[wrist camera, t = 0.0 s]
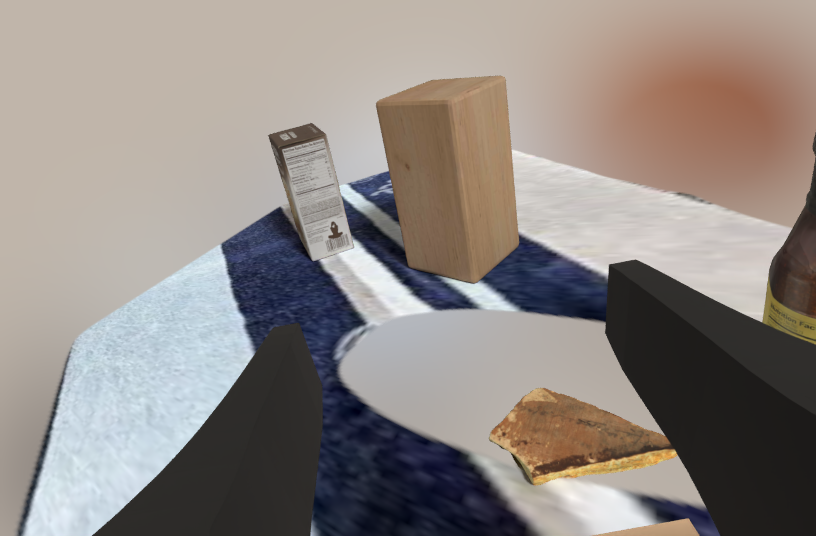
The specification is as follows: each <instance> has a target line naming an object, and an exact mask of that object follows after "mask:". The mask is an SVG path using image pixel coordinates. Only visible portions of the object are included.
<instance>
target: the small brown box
mask: <svg viewBox="0 0 816 536" xmlns="http://www.w3.org/2000/svg"><path fill="white" fill-rule="evenodd" d="M593 536H699V535H698V533H697V531H696V530H695V528H694V527H693V525H692V523H691V522H690V520H689V519H683V520H678V521H672V522H666V523H661V524H655V525H649V526H644V527H638V528H632V529H627V530H621V531H615V532H610V533H604V534H598V535H593Z"/></svg>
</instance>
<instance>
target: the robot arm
mask: <svg viewBox="0 0 816 536" xmlns="http://www.w3.org/2000/svg"><path fill="white" fill-rule="evenodd" d="M605 334H606V336H607V338H608V340H609V342H610V344H611V347H612V349H613V351H614V353H615V355H616V357H617V359H618V362H619V363H620V365H621V367H622V370H623V371H624V373H625V375H626V376H627V378H628V379H629V381H630V382H631V384H632V385H633V387H634V388H635V390H636V392H637V393H638V395H639V396H640V398H641V399H642V401H643V402H644V404H645V406H646V407H647V409H648V410H649V412H650V413H651V415H652V416H653V418H654V419H655V421H656V422H657V424H658V425H659V427H660V428H661V430H662V431H663V433H664V434H665V436H666V437H667V439H668V441H669V442H670V444H671V445H672V447H673V448H674V450H675V451H676V453H677V454H678V456H679V458H680V459H681V461H682V463H683V464H684V466H685V468H686V469H687V471H688V473H689V475H690V477H691V479H692V481H693V483H694V484H695V486H696V488H697V490H698V492H699V494H700V496H701V498H702V500H703V502H704V504H705V506H706V508H707V509H708V511H709V513H710V515H711V517H712V519H713V521H714V523H715V525H716V527H717V530H718V532H719V534H720V536H816V344H813V343H811V342H808V341H805V340H803V339H800V338H797V337H795V336H792V335H790V334H787V333H785V332H783V331H780V330H778V329H775V328H773V327H771V326H769V325H766V324H764V323H762V322H760V321H757V320H755V319H753V318H751V317H749V316H746V315H744V314H742V313H740V312H738V311H736V310H734V309H732V308H729V307H727V306H725V305H723V304H721V303H719V302H717V301H715V300H713V299H711V298H709V297H707V296H705V295H704V294H702V293H700V292H698V291H696V290H694V289H692V288H690V287H688V286H686V285H684V284H683V283H681V282H679V281H677V280H675V279H673V278H671V277H669V276H667V275H666V274H664V273H662V272H660V271H658V270H656V269H654V268H652V267H650V266H648V265H646V264H644V263H642V262H640V261H638V260H631V261H625V262H620V263H615V264H609V275H608V293H607V311H606V330H605ZM322 426H323V405H322V384H321V381H320V378H319V376H318V373H317V370H316V368H315V365H314V362H313V359H312V357H311V354H310V351H309V349H308V346H307V343H306V341H305V338H304V335H303V332H302V330H301V327H300V324H299V323H295V324H290V325H285V326H279V327H274V328H273V329H272V330H271V331H270V333H269V334H268V336H267V337H266V338H265V340H264V341H263V343H262V344H261V346H260V347H259V349H258V350H257V352H256V353H255V355H254V356H253V358H252V359H251V360H250V362H249V363H248V365H247V366H246V368H245V369H244V371H243V372H242V374H241V375H240V376H239V378H238V379H237V380H236V382H235V383H234V385H233V386H232V387H231V389H230V390H229V392H228V393H227V394H226V396H225V397H224V399H223V400H222V401H221V402H220V404H219V405H218V406H217V407H216V409H215V410H214V411H213V413H212V414H211V415H210V416H209V418H208V419H207V420H206V421H205V423H204V424H203V425H202V427H201V428H200V429H199V430H198V431H197V433H196V434H195V435H194V436H193V437H192V438H191V440H190V441H189V442H188V443H187V444H186V445H185V446H184V448H183V449H182V450H181V451H180V452H179V453H178V454H177V455H176V456H175V457H174V458H173V459H172V461H171V462H170V463H169V464H168V465H167V466H166V467H165V468H164V469H163V470H162V471H161V472H160V473H159V474H158V475H157V476H156V477H155V478H154V479H153V480H152V481H151V482H150V483H149V484H148V485H147V486H146V487H145V488H144V489H143V490H142V491H141V492H139V493H138V494H137V495H136V496H135V497H134V498H133V499H132V500H131V501H130V502H129V503H128V504H127V505H126V506H125V507H124V508H123V509H122V510H121V511H120V512H118V513H117V514H116V515H115V516H114V517H113V518H112V519H111V520H110V521H108V522H107V523H106V524H105V525H104V526H103V527H101V528H100V529H99V530H98V531H97V532H96V533H95V534H93V535H92V536H310V532H311V519H312V510H313V502H314V494H315V486H316V477H317V469H318V461H319V453H320V444H321V435H322Z"/></svg>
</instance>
